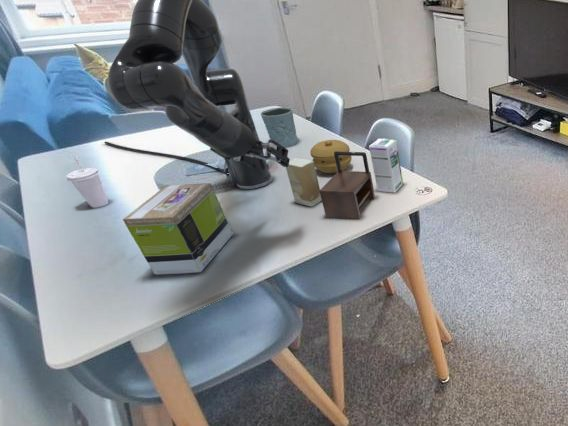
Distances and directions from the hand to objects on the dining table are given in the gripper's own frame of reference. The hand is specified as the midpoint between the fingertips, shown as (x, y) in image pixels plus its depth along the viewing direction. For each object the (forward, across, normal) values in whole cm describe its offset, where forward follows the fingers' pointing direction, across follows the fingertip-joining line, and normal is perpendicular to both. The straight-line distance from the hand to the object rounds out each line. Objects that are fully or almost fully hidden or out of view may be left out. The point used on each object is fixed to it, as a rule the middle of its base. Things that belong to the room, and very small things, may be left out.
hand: (269, 163), depth 100 cm
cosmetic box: (+21, 0, +3) cm, 21 cm away
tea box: (+3, +15, +22) cm, 27 cm away
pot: (+35, +2, -12) cm, 37 cm away
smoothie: (+17, +57, +7) cm, 60 cm away
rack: (+19, -13, +5) cm, 23 cm away
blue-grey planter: (+50, +30, -28) cm, 64 cm away
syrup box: (+27, -20, -4) cm, 34 cm away
